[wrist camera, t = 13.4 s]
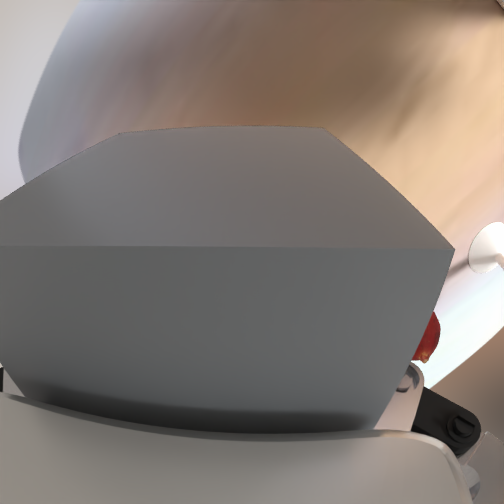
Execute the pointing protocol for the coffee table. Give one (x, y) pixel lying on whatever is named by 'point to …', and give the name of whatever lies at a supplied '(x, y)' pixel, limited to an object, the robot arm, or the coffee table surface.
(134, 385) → the grey rectangular box
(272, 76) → the coffee table surface
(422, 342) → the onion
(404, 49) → the coffee table surface
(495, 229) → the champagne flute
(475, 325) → the coffee table surface
